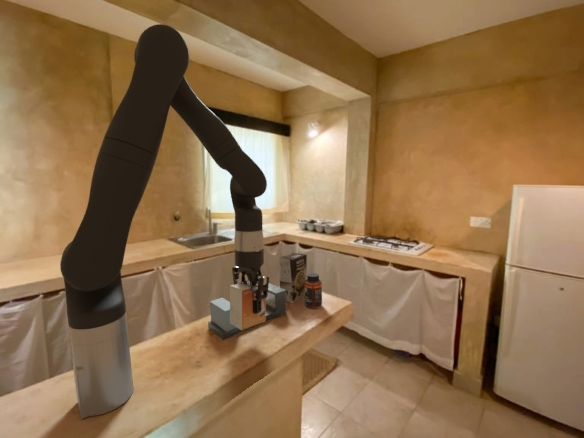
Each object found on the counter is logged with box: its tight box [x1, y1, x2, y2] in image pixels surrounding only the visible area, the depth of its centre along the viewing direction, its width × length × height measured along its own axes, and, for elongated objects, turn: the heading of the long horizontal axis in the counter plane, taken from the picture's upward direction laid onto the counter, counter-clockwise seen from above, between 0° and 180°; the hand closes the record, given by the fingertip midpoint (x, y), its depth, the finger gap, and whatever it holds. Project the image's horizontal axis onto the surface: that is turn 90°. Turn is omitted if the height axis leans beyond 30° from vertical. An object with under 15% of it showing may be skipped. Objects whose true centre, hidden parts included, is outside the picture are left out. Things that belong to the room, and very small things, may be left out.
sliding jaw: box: [209, 297, 237, 332], centre depth 82 cm, size 4×9×6 cm, turn 43°
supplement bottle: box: [304, 272, 323, 310], centre depth 97 cm, size 6×6×11 cm
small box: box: [229, 283, 266, 330], centre depth 74 cm, size 8×6×10 cm
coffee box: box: [279, 252, 308, 304], centre depth 104 cm, size 9×6×16 cm
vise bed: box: [207, 282, 287, 341], centre depth 88 cm, size 23×9×8 cm, turn 133°
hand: (250, 308), depth 75 cm, fingers closed on small box, 5 cm apart
